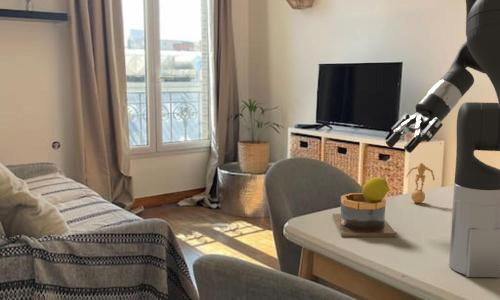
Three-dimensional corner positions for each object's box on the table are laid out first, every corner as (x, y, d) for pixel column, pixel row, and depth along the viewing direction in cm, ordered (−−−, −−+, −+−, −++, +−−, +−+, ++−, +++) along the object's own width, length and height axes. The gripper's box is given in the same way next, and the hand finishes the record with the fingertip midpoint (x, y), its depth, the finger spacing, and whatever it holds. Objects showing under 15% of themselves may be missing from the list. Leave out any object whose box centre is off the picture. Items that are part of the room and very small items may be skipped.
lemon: (375, 200, 128) (394, 179, 123) (373, 212, 123) (393, 191, 119) (357, 188, 128) (376, 167, 123) (354, 199, 123) (374, 178, 119)
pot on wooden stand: (395, 237, 118) (397, 206, 117) (341, 236, 119) (342, 206, 117) (380, 217, 134) (381, 190, 133) (332, 217, 134) (333, 190, 133)
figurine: (402, 202, 150) (404, 163, 148) (407, 198, 155) (409, 160, 153) (430, 206, 146) (432, 166, 144) (435, 201, 151) (437, 163, 149)
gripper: (413, 90, 133) (373, 134, 131) (448, 92, 119) (404, 141, 118) (429, 110, 135) (390, 153, 134) (465, 114, 121) (422, 162, 120)
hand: (397, 147), depth 126 cm, fingers open, 8 cm apart
